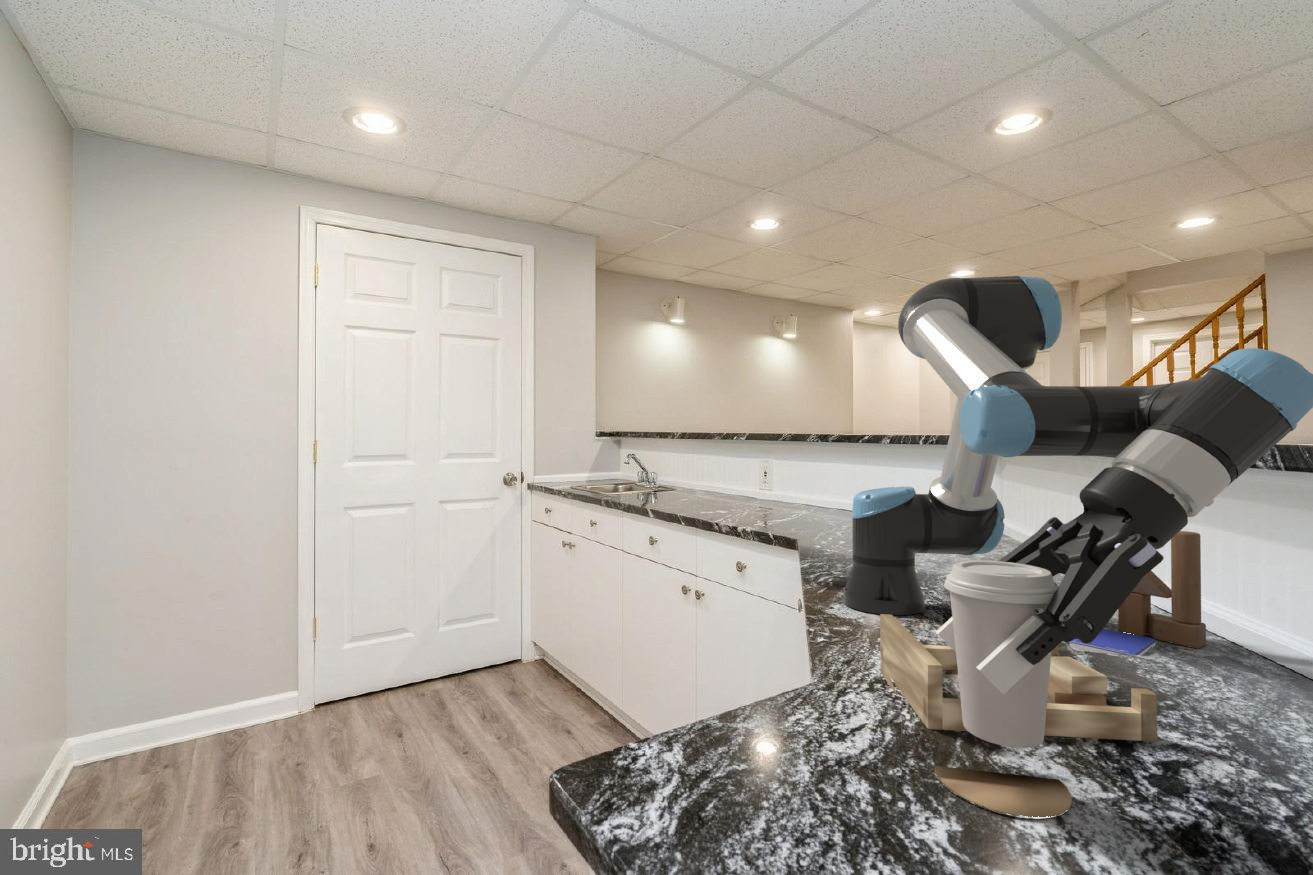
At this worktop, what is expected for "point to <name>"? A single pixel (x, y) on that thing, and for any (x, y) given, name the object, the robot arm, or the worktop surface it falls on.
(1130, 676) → the worktop surface
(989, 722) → the coffee cup
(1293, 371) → the robot arm
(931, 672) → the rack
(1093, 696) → the offcut mid
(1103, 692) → the offcut top
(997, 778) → the trivet
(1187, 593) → the brown wooden block structure
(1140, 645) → the hard drive
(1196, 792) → the worktop surface
